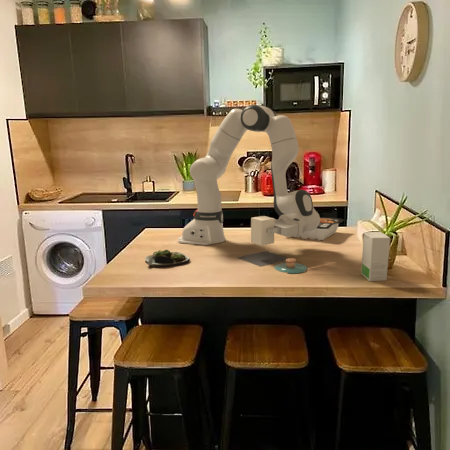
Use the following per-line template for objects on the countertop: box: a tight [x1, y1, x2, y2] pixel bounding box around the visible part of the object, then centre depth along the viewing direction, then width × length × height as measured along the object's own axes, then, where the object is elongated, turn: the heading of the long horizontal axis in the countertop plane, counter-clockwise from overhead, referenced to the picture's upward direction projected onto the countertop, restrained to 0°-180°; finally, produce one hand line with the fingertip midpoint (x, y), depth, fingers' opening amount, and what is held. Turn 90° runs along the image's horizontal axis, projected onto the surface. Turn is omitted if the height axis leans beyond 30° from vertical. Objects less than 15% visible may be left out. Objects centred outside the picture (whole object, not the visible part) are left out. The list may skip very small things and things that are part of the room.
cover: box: [250, 215, 276, 246], centre depth 188 cm, size 7×7×10 cm
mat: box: [235, 250, 288, 267], centre depth 190 cm, size 16×16×1 cm
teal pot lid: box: [274, 257, 308, 275], centre depth 177 cm, size 12×12×4 cm
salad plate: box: [144, 249, 190, 269], centre depth 191 cm, size 19×18×5 cm
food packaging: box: [293, 217, 345, 241], centre depth 229 cm, size 25×8×23 cm
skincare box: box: [360, 231, 391, 282], centre depth 164 cm, size 8×7×16 cm
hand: (260, 229), depth 187 cm, fingers closed on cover, 7 cm apart
